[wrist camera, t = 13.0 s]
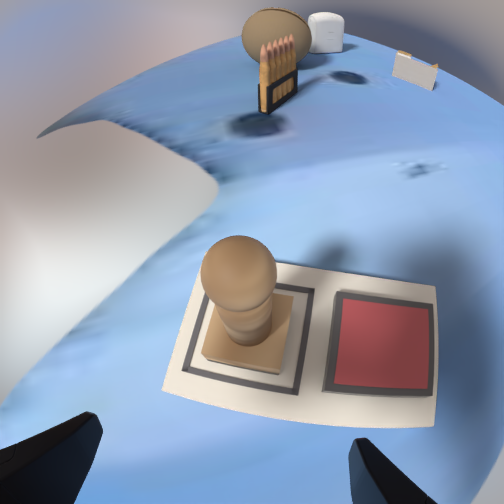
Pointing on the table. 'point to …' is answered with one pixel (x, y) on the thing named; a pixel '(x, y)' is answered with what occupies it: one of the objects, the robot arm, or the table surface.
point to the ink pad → (380, 347)
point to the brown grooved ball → (275, 31)
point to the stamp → (244, 306)
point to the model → (414, 71)
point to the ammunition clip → (277, 74)
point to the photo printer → (326, 32)
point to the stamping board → (297, 358)
